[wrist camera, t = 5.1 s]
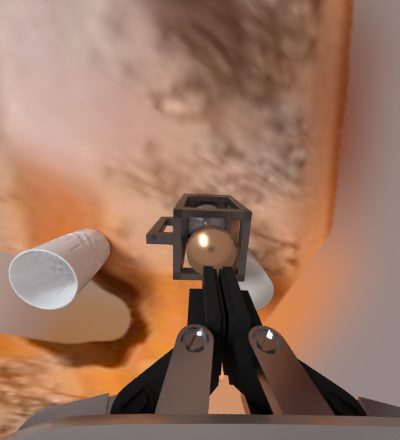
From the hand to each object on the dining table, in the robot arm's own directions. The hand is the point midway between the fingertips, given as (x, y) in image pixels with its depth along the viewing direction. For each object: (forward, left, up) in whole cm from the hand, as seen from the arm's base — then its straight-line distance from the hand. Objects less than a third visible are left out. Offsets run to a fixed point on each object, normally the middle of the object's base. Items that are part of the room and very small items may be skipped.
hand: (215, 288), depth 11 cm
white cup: (+7, -19, -20) cm, 28 cm away
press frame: (+1, -1, -20) cm, 20 cm away
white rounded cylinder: (+9, +6, -20) cm, 23 cm away
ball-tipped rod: (+1, 0, -17) cm, 17 cm away
